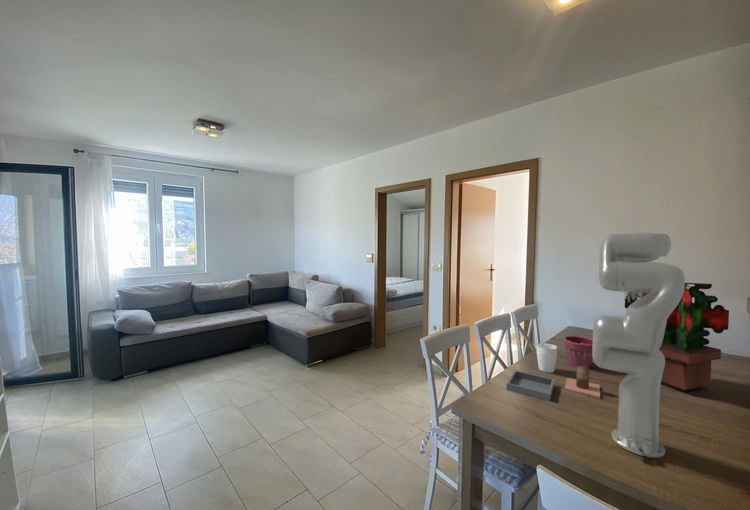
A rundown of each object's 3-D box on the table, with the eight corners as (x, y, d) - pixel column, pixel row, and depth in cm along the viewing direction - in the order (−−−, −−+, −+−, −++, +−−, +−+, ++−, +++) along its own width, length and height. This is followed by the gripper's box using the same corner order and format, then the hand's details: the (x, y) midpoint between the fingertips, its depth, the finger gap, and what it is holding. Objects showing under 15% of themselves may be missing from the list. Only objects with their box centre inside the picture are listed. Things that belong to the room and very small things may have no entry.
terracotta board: (600, 398, 122) (600, 396, 122) (564, 390, 129) (564, 388, 129) (599, 387, 132) (599, 384, 131) (566, 379, 139) (567, 377, 138)
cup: (560, 374, 144) (560, 349, 144) (539, 373, 146) (539, 348, 145) (553, 366, 153) (553, 343, 152) (533, 365, 155) (534, 342, 154)
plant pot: (603, 367, 152) (604, 342, 151) (584, 372, 146) (585, 346, 146) (575, 357, 165) (575, 334, 164) (557, 361, 160) (557, 337, 159)
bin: (549, 403, 119) (550, 394, 119) (506, 391, 128) (506, 383, 128) (554, 387, 132) (554, 379, 132) (514, 377, 141) (514, 370, 141)
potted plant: (689, 399, 121) (693, 287, 119) (629, 376, 142) (632, 280, 140) (725, 391, 127) (730, 284, 125) (662, 370, 148) (666, 278, 146)
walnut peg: (588, 389, 127) (589, 371, 127) (576, 387, 129) (576, 368, 129) (588, 386, 131) (589, 367, 130) (576, 383, 133) (576, 365, 133)
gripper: (648, 269, 107) (647, 316, 108) (642, 265, 121) (641, 308, 122) (621, 268, 112) (620, 314, 113) (618, 264, 126) (617, 305, 127)
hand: (631, 310), depth 117 cm, fingers open, 9 cm apart
